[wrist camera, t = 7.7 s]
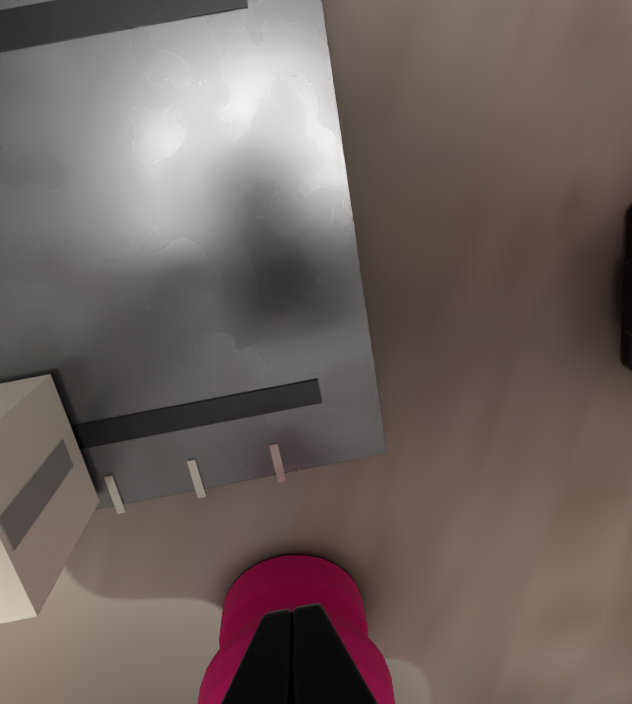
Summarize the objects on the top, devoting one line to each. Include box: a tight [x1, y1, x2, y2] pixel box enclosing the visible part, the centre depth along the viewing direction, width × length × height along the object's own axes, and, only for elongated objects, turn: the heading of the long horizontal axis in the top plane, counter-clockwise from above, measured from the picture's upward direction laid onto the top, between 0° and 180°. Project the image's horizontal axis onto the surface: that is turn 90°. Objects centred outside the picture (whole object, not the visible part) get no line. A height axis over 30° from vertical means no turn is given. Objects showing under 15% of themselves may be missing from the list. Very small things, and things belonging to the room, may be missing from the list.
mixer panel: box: [0, 0, 387, 514], centre depth 16 cm, size 17×20×2 cm
